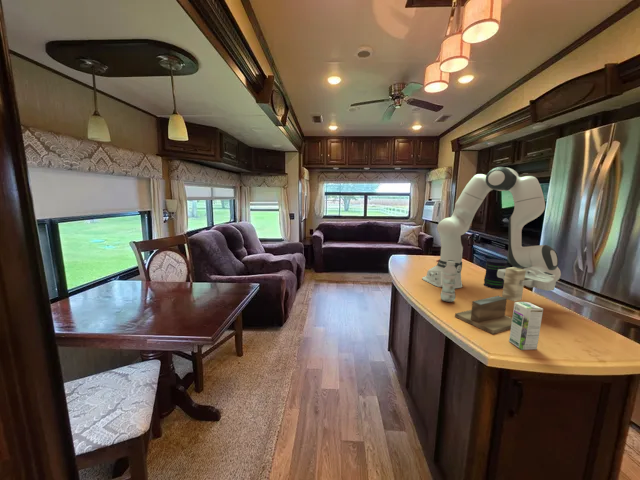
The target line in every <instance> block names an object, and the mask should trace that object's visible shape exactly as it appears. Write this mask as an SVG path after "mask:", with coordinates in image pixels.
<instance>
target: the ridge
mask: <svg viewBox="0 0 640 480" xmlns="http://www.w3.org/2000/svg"><path fill="white" fill-rule="evenodd" d="M507 300H508V299H507V298H504V297H502V295H496V296H492V297H487V298H482V299H477V300H473V301H472V305H471V309H469V310H465V311H460V312H456V313H455V314H454V317H455V318H456V319H459V320H461V321H463V322H465V323H467V324H469V325H471V326H474V327H476V328H478V329H480V330H482V331H484V332H487V333H488V334H491V335H495V334H498V333H502V332H505V331H509V330H511V324H512V317H510V316H508V315H506V307H507Z"/></svg>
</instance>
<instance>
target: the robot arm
mask: <svg viewBox="0 0 640 480" xmlns="http://www.w3.org/2000/svg"><path fill="white" fill-rule="evenodd" d="M493 190H494V191H499V192H507V191H509V192H510V194H511V195H512V198H513V203H514V209H513V212H512V214H511V215H510V216H509V218H508V250H507V258H506V259H507V263H509V264H510V265H511V266H512V267H515V268H519V269H524V270H526V273H525V280H520V281H519V282H520V283H519V284H520V285H524V287H525V286H526V287H527V288H535V289H539V290H542V291H546V292H547V291H548V292H549V291H554V290H555V287H556V284H557V281H559V280H560V279H561V276H562V273H561V272H562V271H561V270H560V268H559V267H558V265H559V256H558V253H557V252H556V250H555V249H554V248H553V247H551V246H550V245H548V244H541V245H531V246H522V234H523V233H522V230H523V228H524V226H525V225H527V224H528V223H530V222H532V221H534V220H535V219H538V217H540V216H541V215H542V214H543V213H544V211H545V209H546V201H545V195H544V193H543V189H542V187H541V184H540V182H539V180H538V178H537V177H535V176H533V175H525V176H521V175H520V174H519V172H518V171H517V170H516V169H515V170H514V169H513V168H510V167H505V166H497V167H494V168H492V169H491V170H489V172H487V173H486V174H483V173H477V174H474V175H473V177H471V179H469V181H468V183H467V184H466V185H465V187H464V188H463V190H462V191H461V194H460V195H459V197H458V198H457V200H456V202H455V203H454V209H453V212H452V215H450V217H445V218H443V219H441V220H440V221H439V222H438V224H437V226H436V228H437V233H438V235H439V240H440V255H439V256H440V258H439V259H436V260H435V261H436V263H437V264H436V265H435V266H432V267H431V268H429V269H428V270H427V272H426V275H425V276H422V278H421V279H422V280H423V281H424V282H427V283H428V284H431V285H433V286H435V287H439V288H442V287H443V269H444V268H445V267H446V266H447V264H446V263H447V260H454V261H455V265H454V266H455V268H456V269H457V272H458V273H457V277H456V282H455V289H461V288H463V283H462V281H463V280H462V269H463V261H462V260H463V252H464V251H463V250H464V246H463V244H462V238H461V236H463V235H465V234H466V233H468V231H469V230H470V228H471V224H472V223H473V219H474V217H475V215H476V213H477V211H478V210H479V208H480V206H481V205H482V203H483V202H484V200H485V198H486V197H487V195H488V194H489V193H490V192H492V191H493ZM505 271H506V269H499V270H498V272H497V277H499V278H502V279H503V280H504V279H505Z"/></svg>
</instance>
